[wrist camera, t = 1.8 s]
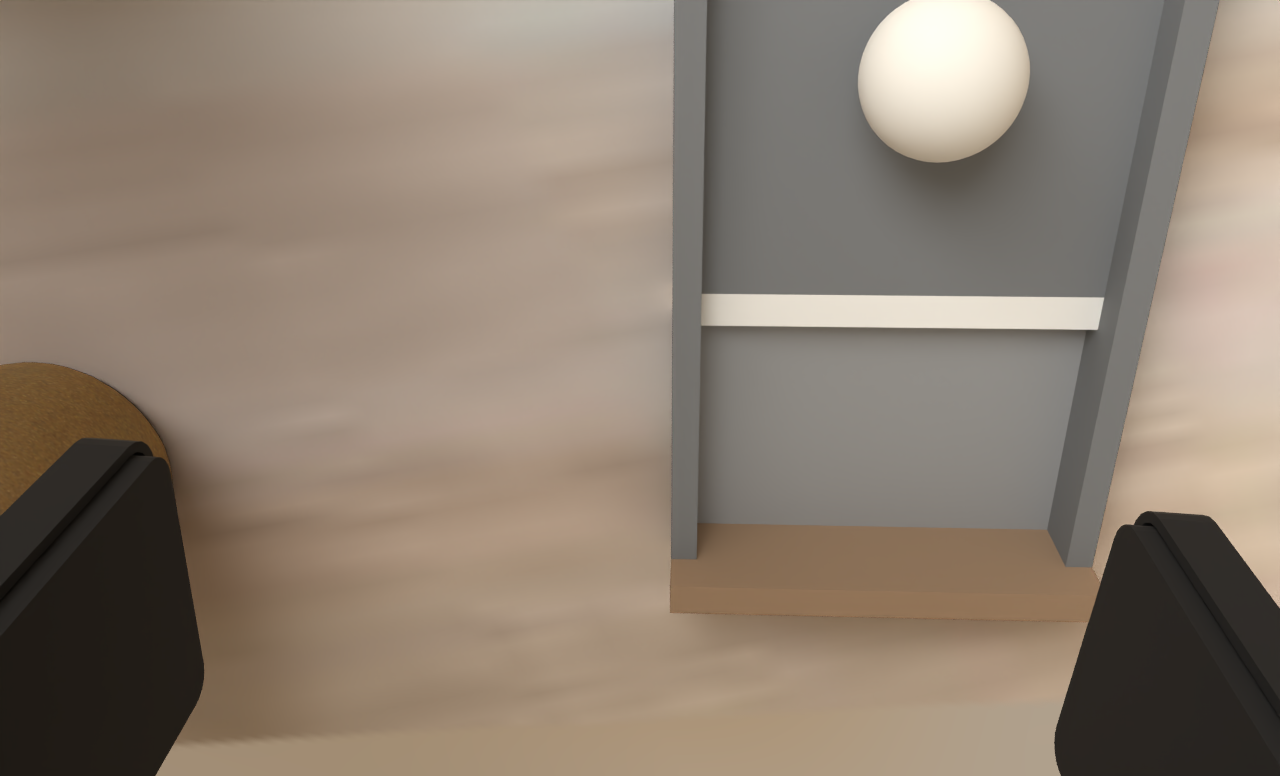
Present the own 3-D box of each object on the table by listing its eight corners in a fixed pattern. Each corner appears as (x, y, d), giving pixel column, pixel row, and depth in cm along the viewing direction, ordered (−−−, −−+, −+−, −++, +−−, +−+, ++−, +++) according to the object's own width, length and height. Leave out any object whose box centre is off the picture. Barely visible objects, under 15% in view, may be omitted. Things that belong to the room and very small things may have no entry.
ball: (854, -20, 27) (878, 3, 24) (1016, -21, 27) (1065, 2, 23) (842, 138, 29) (862, 182, 25) (994, 139, 29) (1036, 183, 25)
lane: (676, -109, 27) (673, -100, 24) (1203, -113, 27) (1272, -104, 24) (672, 543, 37) (670, 612, 33) (1065, 551, 36) (1100, 622, 33)
